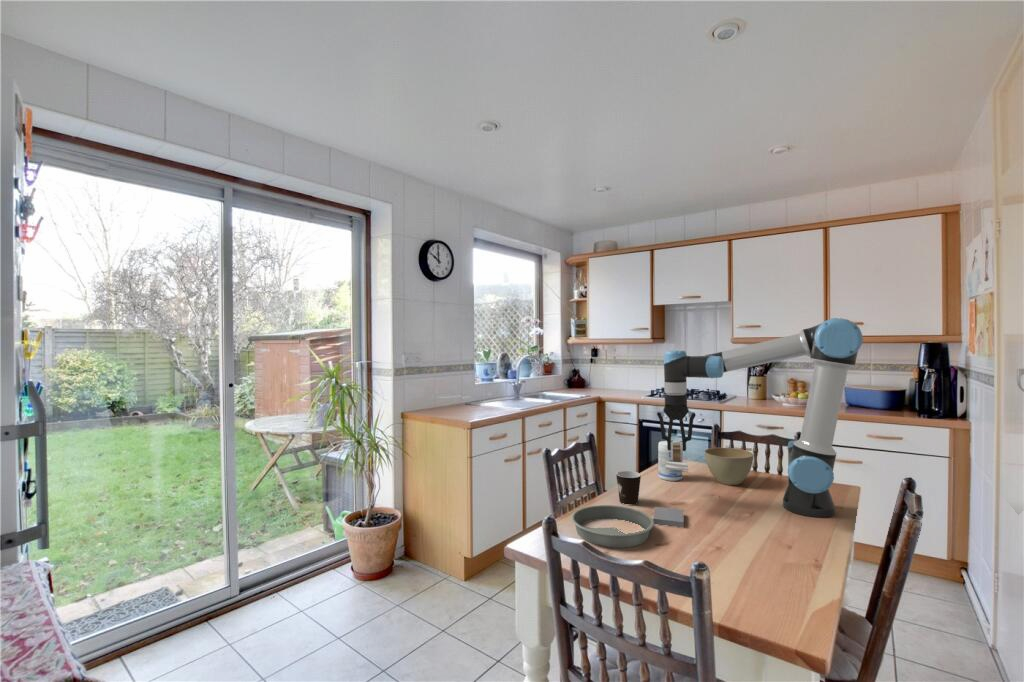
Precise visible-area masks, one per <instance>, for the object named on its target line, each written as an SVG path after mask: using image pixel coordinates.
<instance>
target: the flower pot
mask: <svg viewBox="0 0 1024 682" xmlns="http://www.w3.org/2000/svg"><path fill="white" fill-rule="evenodd" d="M704 458H705V462H706V465H707V468H708V470H709V471H710V473H711V475H712V476H713V478H714V479H715V480H716V481H717V482H718V483H720V484H722V485H728V486H738V485H741V484H742V483H743V482H744V480H745V479H746V478H747V476H748V475H749V473H750V471H751V469H752V467H753V464H754V463H753V462H754V453H753V452H751V451H750V450H746V449H741V448H734V447H733V448H732V447H711V448H706V449H705V450H704Z"/></svg>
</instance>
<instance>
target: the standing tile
mask: <svg viewBox="0 0 1024 682" xmlns="http://www.w3.org/2000/svg"><path fill="white" fill-rule="evenodd" d="M652 519H653V521H654V524H659V525H658V526H663V525H668V526H667V527H672V526H677V527H676V528H680V527H684V522H685V521H684V509H680V508H679V509H678V508H669V507H658V506H655V507H654V511H653V518H652Z"/></svg>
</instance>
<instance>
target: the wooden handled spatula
mask: <svg viewBox="0 0 1024 682" xmlns="http://www.w3.org/2000/svg"><path fill="white" fill-rule="evenodd" d="M688 467H689V465H688V462H683V461H682V462H681V456H680V441H679V442H678V441H674V442H673V462H668V461H666V469H673V470H682V471H689V468H688Z"/></svg>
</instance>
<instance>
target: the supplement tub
mask: <svg viewBox="0 0 1024 682" xmlns="http://www.w3.org/2000/svg"><path fill="white" fill-rule="evenodd" d="M673 442H675V441H674V440H673ZM657 447H658V449H657V451H658V455H657V457H658V458H657V460H658V462H657V463H658V467H657V468H658V469H657V471H658V473H657V475H658V477H659V479H661V480H664V481H671V482H676V481H677V482H678V481H680V480H682V479H683V470H673V469H666V461H668V462H673V460H671V450H668V449H667V441H666V440H661V441H659V442H658V445H657ZM681 462H683V461H681Z"/></svg>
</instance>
